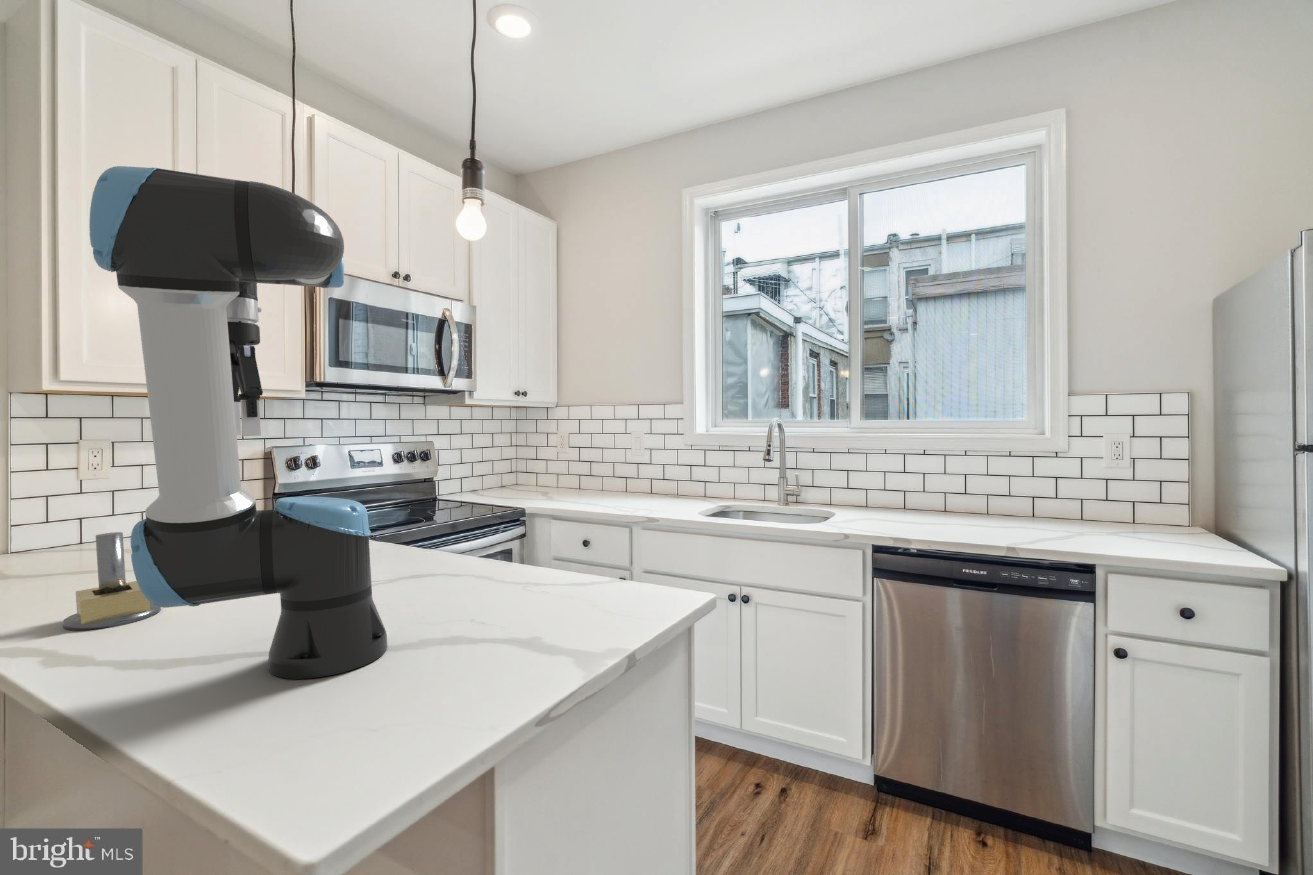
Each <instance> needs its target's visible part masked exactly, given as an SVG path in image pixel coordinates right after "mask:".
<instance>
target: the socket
mask: <svg viewBox="0 0 1313 875" xmlns="http://www.w3.org/2000/svg"><path fill="white" fill-rule="evenodd" d="M75 603H76V613H74V614H72V615H70V616H66V617H65V618H64V619H63V620H62V621H63V622H62V624H63V625H62V626H63V629H64V630H67V631H76V632H79V631H80V632H83V631H92V630H95V631H96V630H103V629H109V628H115V627H120V626H123V625H127V624H129V625H130V624H132V623H136V622H140V621H143V620H146V619H149V618H151V617H153V616H155V615H157V614H158V613H160V612H161V611H162V607H158V606H156V605H153V604H152V603H151V602H149V601H148V600H147V599H146V598H145V597H144V595H143V594H142V592H141V590H140V588H139V585H138V583H137V580H135V581H130V582H129V581H127V582H126V591H120V592H115V593H109V594H103V595H99V586H98V587H94V588H85V589H82V590H75Z"/></svg>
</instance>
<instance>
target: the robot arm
mask: <svg viewBox="0 0 1313 875" xmlns="http://www.w3.org/2000/svg"><path fill="white" fill-rule="evenodd" d="M89 207H90V208H89V209H90V210H89V224H88V225H89V240H90V242H89V243H90V245H91V248H92V255H93V259H94V262H95V263H96V264H97V266H98V267H99V268H101V269H102V270H105V271H107V272H110V273H115V274H116V280H117V288H118V289H119V290H120V291H122V292H123V293H124V294H125V295H127V296H128V297H130V299H132V300H133V301H134V302H135V303H136V305H137V306H136V307H137V315H138V323H139V331H140V339H141V340H140V341H141V349H142V356H143V366H144V376H145V383H146V391H147V400H148V407H149V408H148V410H149V417H150V426H151V428H150V429H151V436H152V444H153V453H154V461H155V470H156V477H157V487H158V496H157V498H155V500H153V502H151V503H150V504H149V506H147V507H146V508H145V518H144V519H142V520H140V521H137V523H135V524H134V526H133V527H132V530H131V534H130V549H131V554H130V557H131V565H132V570H133V574H134V578H135V581H137V583H138V585H139V588H140V590H141V592H142V594H143V595H144V597H145V598H146V599H147V600H148V601H149V602H151V603H152V604H153V605H156V606H158V607H161V608H163V609H164V608H176V607H186V606H189V607H198V606H200V605H205V604H212V603H218V602H225V601H231V600H239V599H246V598H252V597H253V598H254V597H260V596H268V595H273V594H279V597H280V598H279V599H280V614H279V617H278V622H277V625H276V628H275V632H274V635H273V638H272V641H271V645H270V647H269V651H268V671H269V672H270V674H271V675H273V676H275V677H279V678H282V679H291V680H292V679H294V680H301V679H303V680H304V679H314V678H315V679H316V678H322V677H328V676H329V677H330V676H333V675H337V674H342V673H346V672H348V671H353V670H355V669H358V668H361V667H364V666H367V665H368V664H370V663H372V662H374V661H376V660H377V659H379V658H380V657H382V656H383V655H384V654H385V653H386V652H387V650H388V634H387V630H386V628H385V625H384V623H383V621H382V618H381V615H380V614H379V611H378V609H377V605H376V604H375V602H374V600H373V589H372V588H373V587H372V571H371V570H372V569H371V568H372V567H371V556H370V555H371V552H370V551H371V550H370V536H371V533H372V532H371V530H370V526H369V525H370V524H369V517H368V516H369V515H368V509H367V508H366V507H365V505H364V504H363V503H361V502H359V501H356V500H352V499H348V498H342V497H341V498H340V497H331V496H330V497H328V496H289V497H287V496H285V497H280V498H278V499H277V500H276V501H275V503H274V505H273V509H263V510H262V509H261V510H257V504H256V501H257V500H256V497H255V496H254V495H253V494H251V493H250V492H249V491H247V490H245V489H244V488H243V487H242V485H241V484H242V482H241V472H240V471H241V470H240V458H239V446H238V436H242V437H257V436H258V437H259V436H261V434H262V433H261V417H260V416H261V415H260V414H261V413H260V398H261V396H263V394H264V392H263V388H262V383H261V377H260V374H259V369H258V364H257V359H256V357H257V356H256V348H255V346H257V345H259V344H260V343H261V330H260V326H259V325H258V324H256V323H258V322H259V320H260V319H259V318H260V317H259V313H262V308H261V307H259V306H258V305H259V302H258V301H259V300H258V299H259V298H258V284H267V285H268V284H269V285H285V286H286V285H289V286H300V287H302V286H303V287H312V288H313V287H314V288H320V289H321V288H322V289H330V288H337V289H339V288H342V287H343V286H344V284H345V269H344V268H345V266H344V265H345V264H344V263H345V262H344V261H345V260H344V252H345V243H344V242H345V241H344V237H343V235H342V234H343V233H342V232H341V230H340V228H339V225H338V224H337V222H335V220H334V219H333V218H332V217H331V216H330V215H329V214H328V213H327V212H326V211H324V210H323V209H322V208H320V207H319V206H317V205H316V204H314V203H313V202H312V201H310V200H309V199H306V198H303V197H302V196H300V195H298V194H297V193H293V192H292V191H289V190H288V189H287V190H286V189H284V188H280V187H278V186H275V185H272V184H268V183H264V182H259V181H251V180H249V181H248V180H247V181H246V180H239V179H233V178H225V177H218V176H212V175H207V174H206V175H205V174H198V173H191V172H186V171H185V172H184V171H179V170H178V171H177V170H173V169H172V170H171V169H164V168H158V167H142V166H125V165H124V166H123V165H117V166H112V167H109V168H107V169H105V170H104V171H103V172H102V173H101V174H100V176H99V177H98V179H97V180H96V183H95V186H94V188H93V192H92V197H91V201H90V206H89ZM239 391H240V392H239Z"/></svg>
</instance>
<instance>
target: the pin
mask: <svg viewBox="0 0 1313 875" xmlns="http://www.w3.org/2000/svg"><path fill="white" fill-rule="evenodd" d="M95 547H96V548H95V549H96V564H97V578H98V587H99V595H103V594H109V593H115V592H120V591H126V583H127V580H126V568H125V567H126V566H125V562H126V561H125V548H124V534H123V532H121V531H118V532H117V531H116V532H114V531H113V532H105V533H101V534H96V535H95Z"/></svg>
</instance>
